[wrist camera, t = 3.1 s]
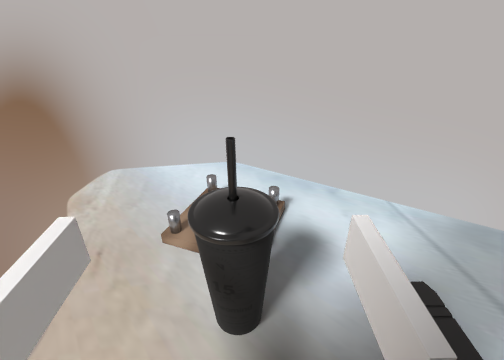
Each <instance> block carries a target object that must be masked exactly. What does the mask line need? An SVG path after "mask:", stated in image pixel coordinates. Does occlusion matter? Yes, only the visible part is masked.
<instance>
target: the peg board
mask: <svg viewBox="0 0 504 360" xmlns="http://www.w3.org/2000/svg"><path fill="white" fill-rule="evenodd" d="M207 187H208V188H207V189H206V190H205V191H204V192H203V193H202V194H201V195H200V196H202V195H204V194H206V193H208V192H210V191H213V190H216V189H220V188H217V181H216V175H213V174H211V175H208V176H207ZM200 196H199V197H200ZM269 196H270V197H271V198H272V199H273V200H274V201H275V202H276V204H277V206H278V208H279V219H280V217H281V215H282V213H283V211H284V209H285V201H280V200H279V187H277V186H271V187H269ZM199 197H198V198H199ZM191 205H192V204H191ZM191 205H190V206H191ZM190 206H189V207H188V208H187V209H186V210H185V211H184V212H183V213H182V214H181V215H180V214H179V211H178V210H171V211H169V212H168V213H167V215H168V221H169V227H168V228H167V229H166V230H165V231H164V232H163V233H162V234H161V237H162V242H163V243H166V244H169V245H173V246H176V247H180V248H183V249H187V250H190V251H194V252H197V253H199V249H198V246H197V242H196V238H195V234H194V232H193V231H192V230H191V228H190V226H189V223H188V217H187V216H188V211H189V208H190ZM278 221H279V220H278ZM274 230H275V228H274Z"/></svg>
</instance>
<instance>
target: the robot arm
mask: <svg viewBox="0 0 504 360" xmlns="http://www.w3.org/2000/svg"><path fill="white" fill-rule="evenodd" d="M343 259H344V262H345V264H346V266H347V269H348V271H349V274H350V276H351V279H352V281H353V284H354V286H355V288H356V291H357V293H358V296H359V298H360V301H361V303H362V306H363V308H364V311H365V313H366V315H367V318H368V320H369V323H370V325H371V328H372V330H373V333H374V335H375V337H376V340H377V342H378V345H379V347H380V350H381V352H382V355H383V357H384V360H483V359H482V358H481V356H480V355H479V353H478V352H477V350H476V349H475V348H474V346H473V345H472V343H471V342H470V340H469V339H468V337H467V336H466V335H465V333H464V332H463V330H462V329H461V327H460V326H459V325H458V323H457V322H456V320H455V319H453V318H452V315H451V313H450V312H449V310H448V309H447V308H445V305H444V303H443V302H442V300H441V299H440V297H439V296H438V295H437V293H436V292H435V291H434V290H433V289H431V288H430V287H429V286H428V285H427V284H425V283H424V282H410V281H409V280H408V278H407V276H406V275H405V273H404V272H403V270H402V268H401V267H400V265H399V264H398V262H397V260H396V259H395V257H394V256H393V254H392V252H391V251H390V249H389V248H388V246H387V244H386V243H385V241H384V240H383V238H382V237H381V235H380V233H379V232H378V230H377V229H376V227H375V225H374V224H373V222H372V221H371V219H370V217H369V216H368V215H352V218H351V223H350V227H349V232H348V237H347V241H346V246H345V251H344V255H343ZM90 261H91V259H90V256H89V254H88V251H87V248H86V246H85V243H84V240H83V237H82V235H81V232H80V229H79V226H78V224H77V221H76V218H75V217H58V218H57V220H56V221H54V223H53V224H52V225H51V226H50V227H49V228H48V229H47V230H46V231H45V232H44V233H43V234H42V235H41V236H40V237H39V238H38V240H36V241H35V243H33V245H32V246H31V247H30V248H29V249H28V250H27V251H26V252H25V253H24V254H23V255H22V256H21V257H20V258H19V259H18V260H17V261H16V262H15V263H14V264H13V265H12V267H11V268H10V269H9V270H8V271H7V272H6V273H5V274H4V275H3V276H2V277H1V278H0V360H27V358H28V356H29V355H30V353H31V352H32V350H33V349H34V347H35V345H36V344H37V343H38V341H39V339H40V338H41V336H42V335H43V333H44V332H45V330H46V329H47V327H48V326H49V324H50V323H51V321H52V319H53V318H54V316H55V315H56V313H57V312H58V310H59V309H60V307H61V306H62V304H63V302H64V301H65V299H66V298H67V296H68V295H69V293H70V292H71V290H72V289H73V287H74V286H75V284H76V282H77V281H78V279H79V278H80V276H81V275H82V273H83V272H84V270H85V269H86V267H87V265H88V264H89V262H90Z"/></svg>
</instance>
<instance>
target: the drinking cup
mask: <svg viewBox="0 0 504 360" xmlns="http://www.w3.org/2000/svg"><path fill="white" fill-rule="evenodd" d="M226 153H227V171H228V187H226V188H220V189H216V190H213V191H210V192H208V193H206V194H204V195H202V196H200V197H199V198H197V199H196V200H195V201H194V202H193V203H192V205H191V206H190V208H189V211H188V216H187V217H188V223H189V226H190V228H191V230H192V231H193V232H194V234H195V238H196V242H197V246H198V249H199V253H200V257H201V261H202V265H203V269H204V273H205V277H206V280H207V284H208V288H209V292H210V296H211V300H212V304H213V308H214V311H215V315H216V319H217V322H218V324H219V326H220V327H221V328H222V329H223V330H224V331H225V332H227V333H229V334H233V335H242V334H246V333H249V332H250V331H252V330H253V329H254V328H255V327H256V326H257V325H258V323H259V321H260V319H261V313H262V306H263V300H264V293H265V286H266V280H267V273H268V267H269V260H270V253H271V247H272V240H273V234H274V228H275V227H276V225H277V223H278V220H279V208H278V206H277V204H276V202H275V201H274V200H273V199H272V198H271V197H270V196H269V195H267V194H265V193H264V192H261V191H259V190H256V189H252V188H246V187H237V179H236V154H235V138H234V137H227V138H226Z"/></svg>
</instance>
